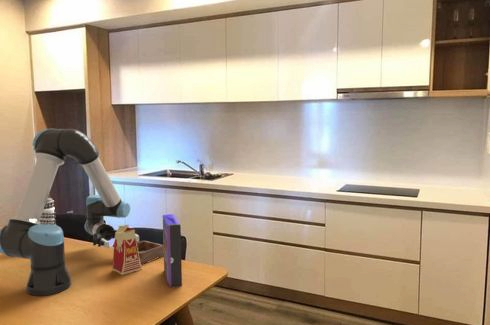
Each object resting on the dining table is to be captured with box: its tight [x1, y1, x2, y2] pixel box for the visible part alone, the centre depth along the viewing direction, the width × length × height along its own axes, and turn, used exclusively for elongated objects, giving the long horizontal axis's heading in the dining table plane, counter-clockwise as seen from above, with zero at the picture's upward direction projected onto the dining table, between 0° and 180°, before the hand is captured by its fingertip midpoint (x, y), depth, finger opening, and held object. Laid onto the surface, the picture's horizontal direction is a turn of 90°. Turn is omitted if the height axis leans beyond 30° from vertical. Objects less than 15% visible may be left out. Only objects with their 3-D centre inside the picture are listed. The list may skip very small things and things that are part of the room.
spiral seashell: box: [39, 197, 57, 225], centre depth 197 cm, size 9×9×25 cm
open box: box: [137, 240, 164, 265], centre depth 184 cm, size 14×14×5 cm
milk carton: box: [112, 224, 143, 276], centre depth 169 cm, size 9×9×20 cm
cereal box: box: [162, 213, 183, 288], centre depth 160 cm, size 17×5×24 cm, turn 18°
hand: (123, 241), depth 172 cm, fingers open, 13 cm apart
